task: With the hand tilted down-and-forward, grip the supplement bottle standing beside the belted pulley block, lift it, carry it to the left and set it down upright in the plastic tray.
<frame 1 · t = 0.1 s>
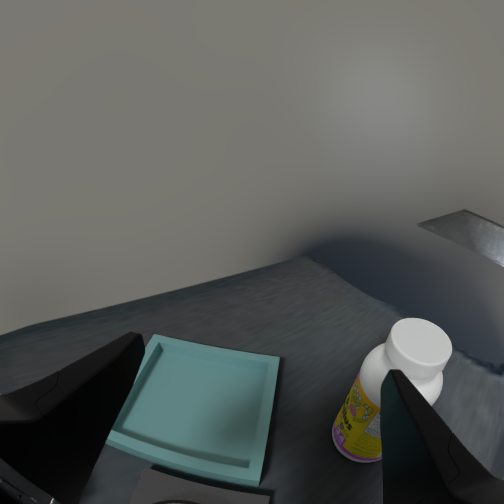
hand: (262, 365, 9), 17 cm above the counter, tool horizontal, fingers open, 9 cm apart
supplement bottle: (362, 436, 22), on the counter
tray: (195, 407, 24), on the counter
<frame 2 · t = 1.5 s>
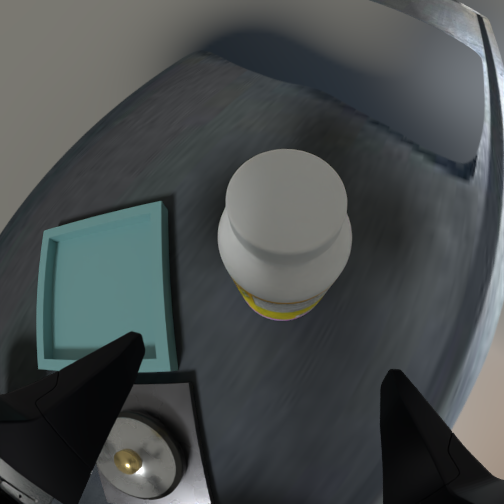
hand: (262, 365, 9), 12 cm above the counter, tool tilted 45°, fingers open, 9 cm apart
supplement bottle: (282, 281, 23), on the counter
tray: (100, 294, 24), on the counter
pulley block: (146, 450, 19), on the counter
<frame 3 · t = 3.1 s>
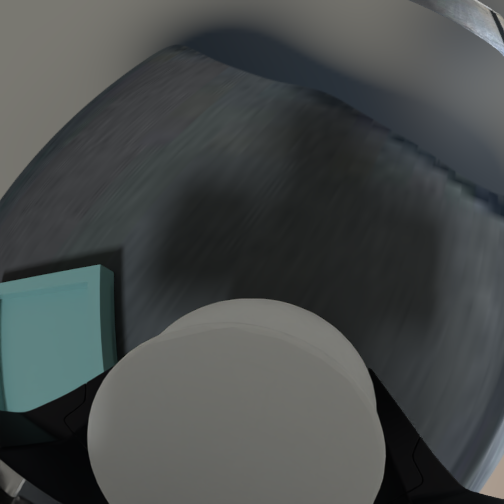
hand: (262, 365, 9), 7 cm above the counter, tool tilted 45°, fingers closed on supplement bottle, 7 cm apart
supplement bottle: (264, 383, 15), on the counter, touching gripper
tray: (45, 373, 16), on the counter
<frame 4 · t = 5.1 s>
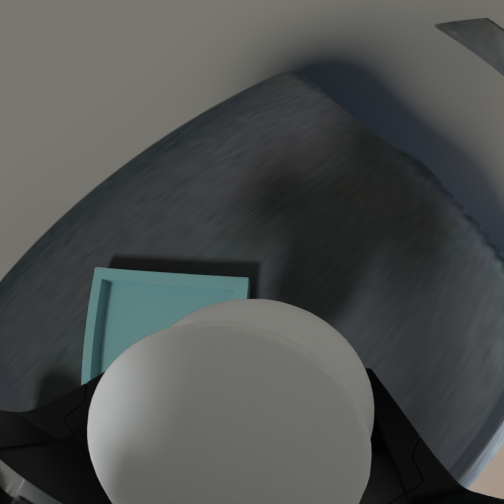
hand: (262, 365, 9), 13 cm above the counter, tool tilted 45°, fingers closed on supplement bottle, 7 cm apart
supplement bottle: (271, 383, 15), point 6 cm above the counter, touching gripper
tray: (161, 358, 22), on the counter
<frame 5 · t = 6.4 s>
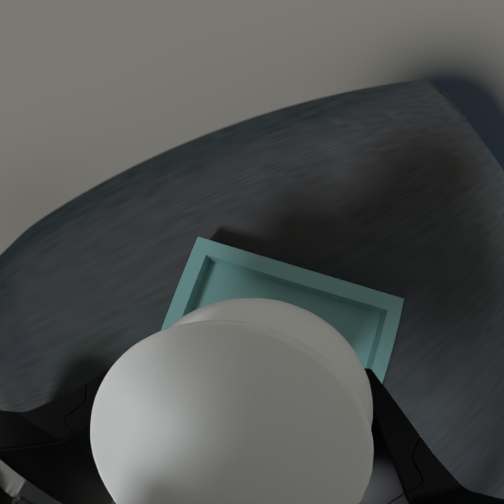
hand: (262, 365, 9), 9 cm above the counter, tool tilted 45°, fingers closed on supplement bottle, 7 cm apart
supplement bottle: (267, 382, 16), point 2 cm above the counter, touching gripper
tray: (266, 375, 18), on the counter
when the fingers open (8 cm above the counter, at t = 7.0 s): supplement bottle stays where it is, resting on tray.
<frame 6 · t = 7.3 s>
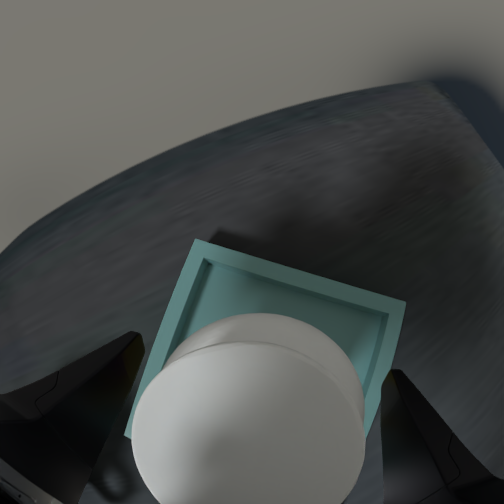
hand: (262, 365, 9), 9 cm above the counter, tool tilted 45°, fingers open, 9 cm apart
supplement bottle: (267, 383, 17), resting on tray
tray: (265, 380, 17), on the counter
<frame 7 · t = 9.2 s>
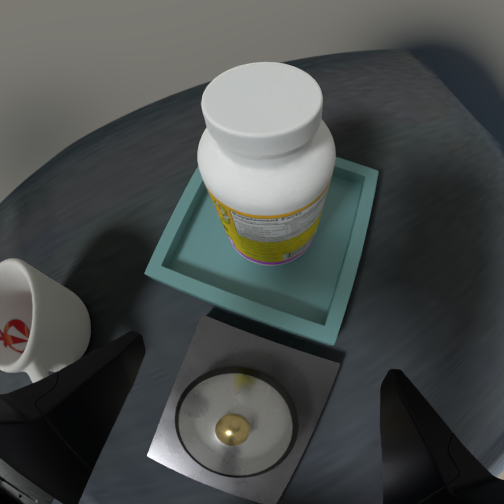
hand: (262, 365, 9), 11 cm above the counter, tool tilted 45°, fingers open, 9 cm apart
supplement bottle: (271, 227, 22), resting on tray
cup: (76, 342, 21), on the counter
tray: (269, 227, 22), on the counter
pulley block: (240, 417, 18), on the counter
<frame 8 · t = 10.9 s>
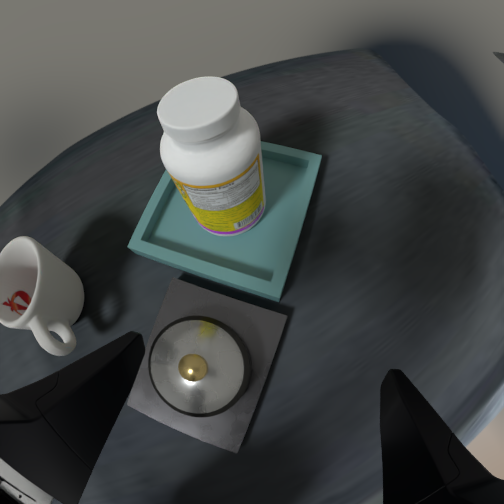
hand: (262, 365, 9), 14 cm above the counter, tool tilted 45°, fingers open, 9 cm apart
supplement bottle: (229, 206, 27), resting on tray
cup: (71, 311, 25), on the counter
tray: (229, 206, 27), on the counter
pulley block: (204, 366, 22), on the counter
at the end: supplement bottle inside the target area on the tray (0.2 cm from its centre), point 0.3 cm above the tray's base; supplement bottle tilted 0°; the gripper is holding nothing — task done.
